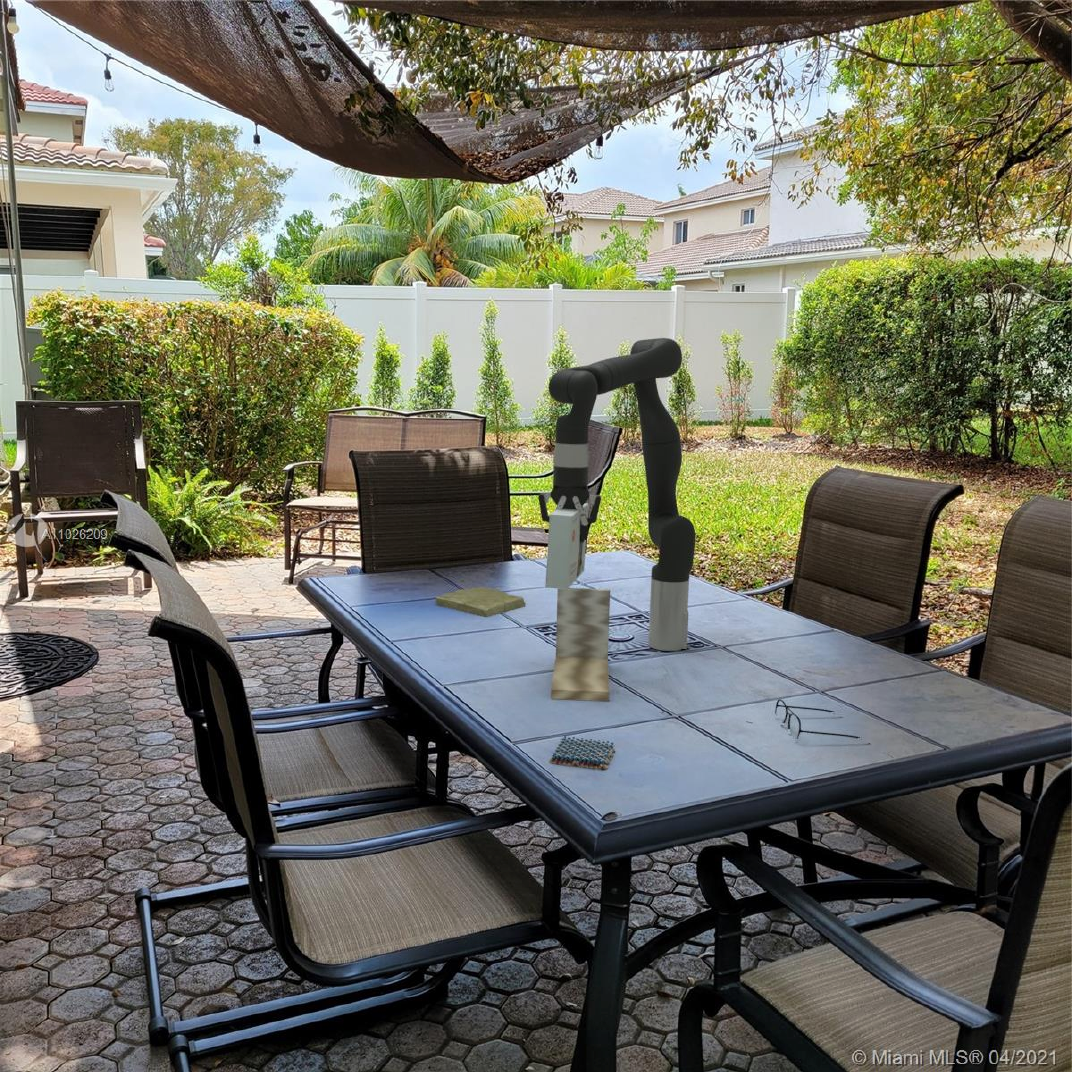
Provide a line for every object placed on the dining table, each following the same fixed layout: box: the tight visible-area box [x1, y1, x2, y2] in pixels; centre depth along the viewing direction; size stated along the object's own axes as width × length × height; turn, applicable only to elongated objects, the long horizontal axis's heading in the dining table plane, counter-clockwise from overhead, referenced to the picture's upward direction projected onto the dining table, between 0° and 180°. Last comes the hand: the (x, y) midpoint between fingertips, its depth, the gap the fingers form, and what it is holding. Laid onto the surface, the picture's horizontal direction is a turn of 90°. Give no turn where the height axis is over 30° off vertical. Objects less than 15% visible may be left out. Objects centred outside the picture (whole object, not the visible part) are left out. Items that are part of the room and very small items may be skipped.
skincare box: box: [544, 502, 589, 589], centre depth 216 cm, size 21×6×16 cm, turn 167°
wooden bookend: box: [550, 587, 611, 702], centre depth 216 cm, size 12×25×18 cm, turn 177°
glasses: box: [774, 698, 860, 740], centre depth 191 cm, size 14×15×5 cm
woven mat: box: [548, 735, 616, 770], centre depth 176 cm, size 10×11×2 cm
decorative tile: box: [435, 586, 527, 618], centre depth 283 cm, size 19×20×4 cm
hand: (568, 541), depth 216 cm, fingers closed on skincare box, 5 cm apart
